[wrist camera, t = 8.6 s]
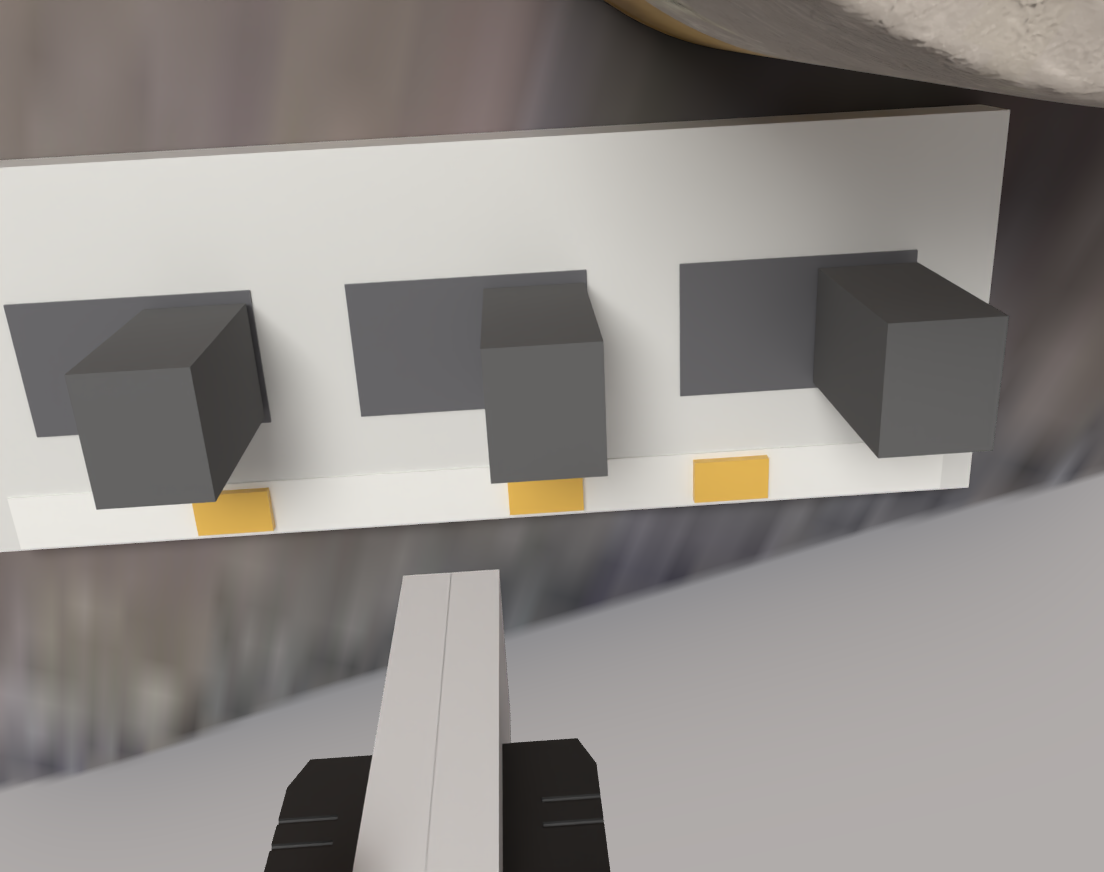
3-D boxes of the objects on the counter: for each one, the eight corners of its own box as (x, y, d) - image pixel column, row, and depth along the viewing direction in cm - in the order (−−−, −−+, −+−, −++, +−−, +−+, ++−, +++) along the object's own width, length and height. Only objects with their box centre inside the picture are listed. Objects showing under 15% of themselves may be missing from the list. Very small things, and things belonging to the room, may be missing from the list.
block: (166, 423, 32) (96, 509, 26) (142, 309, 31) (64, 374, 25) (264, 417, 32) (215, 501, 26) (246, 303, 31) (190, 367, 25)
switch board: (18, 524, 36) (-14, 558, 33) (-80, 164, 31) (-125, 176, 29) (944, 463, 36) (973, 492, 34) (980, 104, 32) (1016, 111, 30)
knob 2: (492, 402, 32) (490, 483, 27) (483, 288, 31) (480, 348, 25) (589, 396, 32) (607, 476, 27) (584, 282, 31) (603, 341, 25)
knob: (812, 382, 32) (878, 458, 27) (818, 268, 31) (887, 323, 26) (908, 376, 32) (993, 450, 27) (917, 262, 31) (1008, 315, 26)
